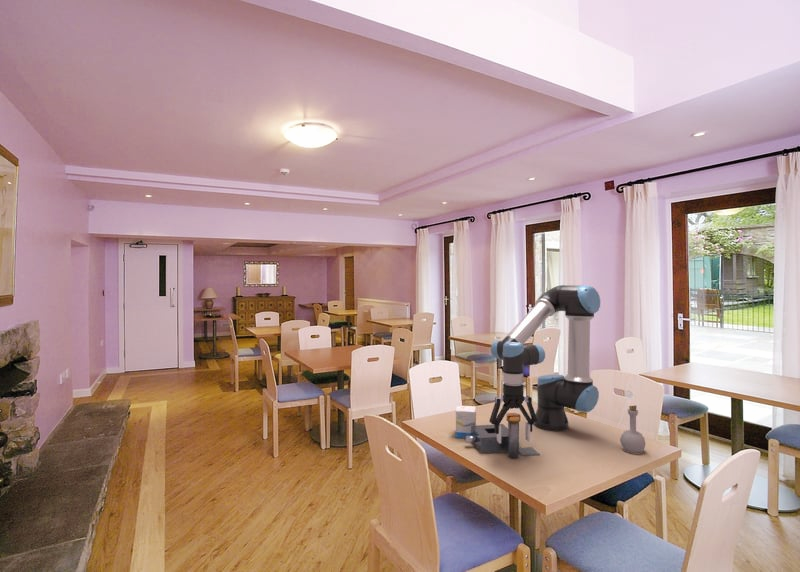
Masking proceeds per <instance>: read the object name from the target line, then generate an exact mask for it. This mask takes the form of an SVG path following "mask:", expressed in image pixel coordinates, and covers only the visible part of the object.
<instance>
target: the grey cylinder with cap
mask: <svg viewBox="0 0 800 572" xmlns="http://www.w3.org/2000/svg"><path fill="white" fill-rule="evenodd" d="M505 416H506V417H505V418H506V419H505V420H506V421H507V428H508V452H507V456H508V458H509V459H512V460H518V459H519V458H520V453H519V448H520V422H521V418H522V417H521V414H519V413H516V412H507V413H506V414H505Z"/></svg>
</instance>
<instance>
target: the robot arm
mask: <svg viewBox="0 0 800 572" xmlns="http://www.w3.org/2000/svg"><path fill="white" fill-rule="evenodd" d="M534 303H535V304H534V306H533V307H532V308H531V309H530V310H529V311H528V312H527V313H526V314H525V316H524V317H522V319H521V320H519V322H518V323H517V324H516V326H515V327H514V328H513V329H511V331H510V332H509V333H507V334H506V336H505V337H504V339H502V340H495V341H493V342H492V344H491V346H490V353H491V356H492V357H493V358H495V359H498V360H500V361H502V369H503V370H502V382H503V384H502V394H503V395H502V397H498V396H495V398H494V405H493V407H492V410H491V415H490V418H489V423H490V425H494V431H495V433H496V434H497V441H498V442H499V443H501V425H500V424H502V420H503V419H504V418H505V416H506V414H507V413H508V411H509V410H511V409H512V410H513V409H519V410H520V412H521V414H522V415H523V416H524V418H525V420H526V421H525V425H524V426H525V427H524V428H525V429H524V431H525V434H524V435H525V440H526V441H527V442H531V433H533V425H534V426H535V427H537V428H539V429H542V430H545V431H556V432H559V431H565V430H567V429H569V420H568V417H567V414H566V411H565V408H567V409H570V410H575V411H577V412H582V413H590V412H592V410H594V409H595V407H596V406H597V404H598V402H599V395H600V393H599V390H598V387H597V386H595V385H594V380H593V378H592V377H590V357H591V356H590V355H591V354H590V352H591V351H590V348H591V347H590V345H591V343H590V341H591V340H590V339H591V320H593V318H595V314H596V313H598V312H599V311H600V308H601V298H600V295H599V291H597V289H596V288H595V287H593V286H591V285H586V284H585V285H584V284H580V285H577V284H576V285H575V284H574V285H573V284H572V285H570V284H569V285H568V284H567V285H565V284H562V285H557V286H555V287H552V288H550V289H549V290H547V291H546V292H544V293H543V294H542V295H540V296H539V297H538V298H537V299H536V301H535V302H534ZM558 312H564V314H565V315H564V317H566V318H567V320H568V344H567V345H568V346H567V347H568V349H567V351H568V352H567V374H566V375H562V374H543V375H540V376H538V378H537V385H536V386H537V387H536V388H537V389H536V392H537V408H536V412H535V409H534V406H533V399H532V396H529V395H526V396H524V391H525V388H524V382H525V381H524V367H528V366H533V365H534V366H536V365H538V364H541V363H542V362H544V361H545V359H546V351H545V349H544V348H543V346H541V345H539V344H530V345H528V344H525V343H526V342H527V341H528V340H529V339H530V338H531V337H532V336H533V334H535V333H536V331H537V330H538V329H539V328H540V327H541V325H543V323H544V322H545V321H547V319H548V318H550V317H553V316H554V315H555V313H558ZM524 401H525V403H526V406H527V408H528V409H527V410H528V412H529V414H528V412H527V410H526V408H525V407H524V405H523V403H524ZM502 402H503V405H502V407H501V404H502ZM500 407H501V408H500ZM500 409H501V410H500Z"/></svg>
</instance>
